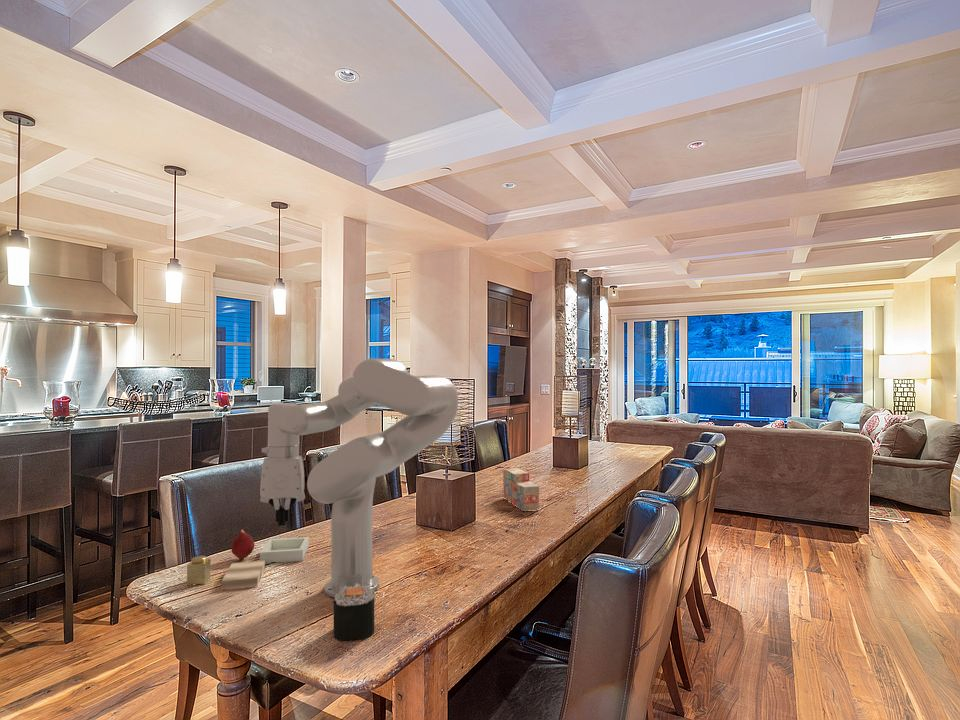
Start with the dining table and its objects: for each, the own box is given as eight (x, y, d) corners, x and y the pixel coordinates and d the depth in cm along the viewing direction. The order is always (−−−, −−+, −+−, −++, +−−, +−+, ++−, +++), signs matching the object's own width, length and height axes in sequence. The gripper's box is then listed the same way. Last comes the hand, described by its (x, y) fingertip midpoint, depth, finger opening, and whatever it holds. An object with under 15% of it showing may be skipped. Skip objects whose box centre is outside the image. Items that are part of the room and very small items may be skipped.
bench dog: (204, 584, 126) (204, 560, 126) (187, 585, 125) (187, 561, 125) (210, 577, 130) (210, 554, 130) (193, 579, 129) (193, 555, 129)
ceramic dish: (302, 561, 141) (302, 549, 141) (259, 563, 139) (259, 552, 139) (308, 547, 152) (308, 537, 152) (269, 549, 150) (269, 539, 150)
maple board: (257, 588, 125) (257, 578, 125) (221, 592, 123) (221, 581, 123) (265, 569, 136) (265, 560, 136) (231, 573, 134) (231, 563, 134)
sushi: (331, 644, 98) (331, 601, 98) (335, 623, 106) (335, 584, 107) (375, 639, 100) (375, 598, 100) (375, 619, 108) (375, 580, 108)
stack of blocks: (539, 511, 189) (539, 477, 189) (523, 513, 187) (523, 478, 187) (517, 497, 209) (517, 467, 209) (503, 498, 207) (502, 468, 208)
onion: (258, 556, 145) (258, 527, 145) (244, 564, 139) (244, 534, 139) (241, 554, 146) (241, 526, 146) (226, 562, 141) (226, 532, 141)
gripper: (248, 455, 127) (247, 530, 127) (312, 453, 129) (311, 527, 129) (256, 450, 134) (255, 521, 134) (316, 449, 137) (315, 518, 137)
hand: (282, 524), depth 132 cm, fingers closed
